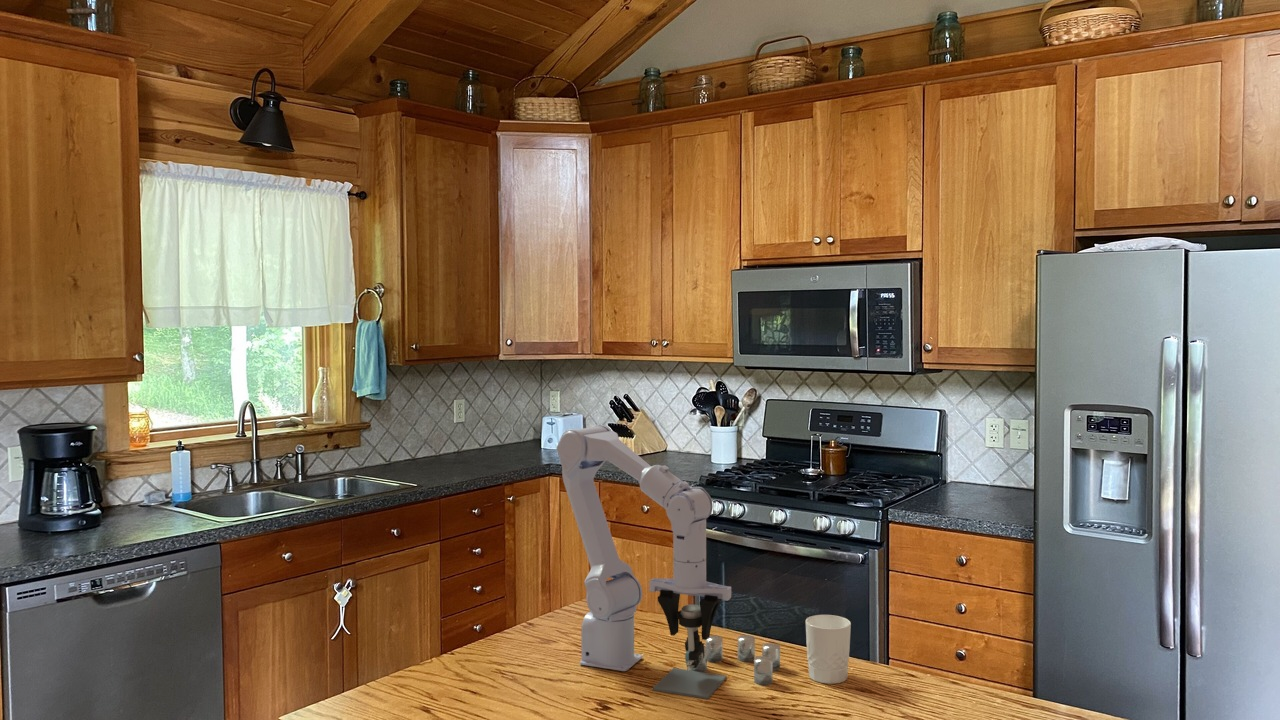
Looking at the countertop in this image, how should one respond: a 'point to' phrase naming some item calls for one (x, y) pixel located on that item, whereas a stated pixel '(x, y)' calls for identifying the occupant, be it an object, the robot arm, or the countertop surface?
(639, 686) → the countertop surface
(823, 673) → the white cup
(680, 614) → the push button
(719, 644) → the cylinder
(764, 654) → the spacer back right
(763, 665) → the cylinder
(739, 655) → the cylinder
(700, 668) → the cylinder
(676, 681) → the mat
